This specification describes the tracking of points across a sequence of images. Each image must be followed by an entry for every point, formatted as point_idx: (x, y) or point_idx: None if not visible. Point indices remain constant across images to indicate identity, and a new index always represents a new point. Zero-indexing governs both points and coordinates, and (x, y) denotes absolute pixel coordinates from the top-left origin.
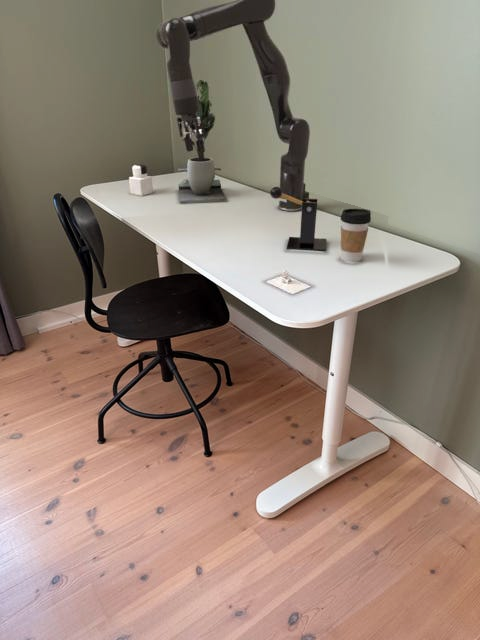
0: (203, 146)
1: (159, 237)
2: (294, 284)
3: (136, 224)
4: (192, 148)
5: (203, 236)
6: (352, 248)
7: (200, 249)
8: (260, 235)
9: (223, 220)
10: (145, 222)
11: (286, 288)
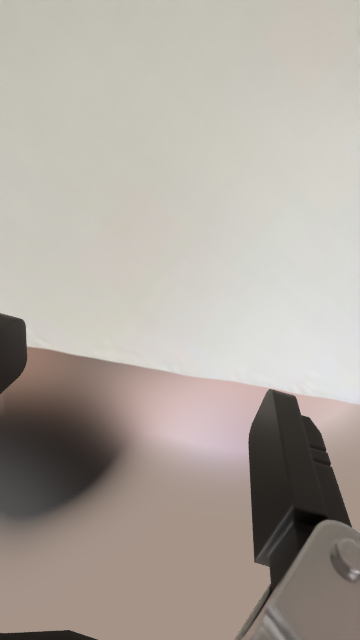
0: (324, 457)
1: (144, 358)
2: None
3: None
4: (11, 330)
5: (219, 275)
6: None
7: (285, 341)
8: (353, 130)
9: (141, 111)
10: None
11: None
